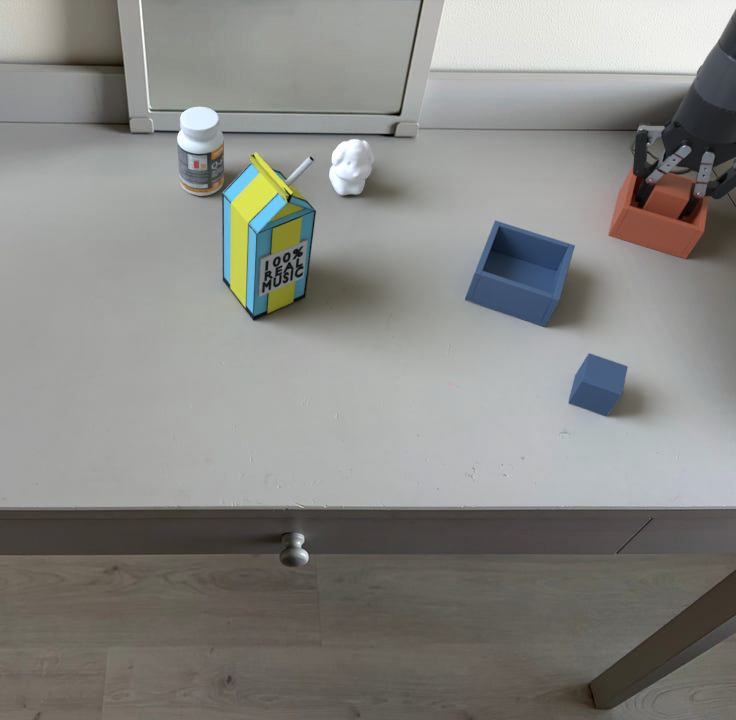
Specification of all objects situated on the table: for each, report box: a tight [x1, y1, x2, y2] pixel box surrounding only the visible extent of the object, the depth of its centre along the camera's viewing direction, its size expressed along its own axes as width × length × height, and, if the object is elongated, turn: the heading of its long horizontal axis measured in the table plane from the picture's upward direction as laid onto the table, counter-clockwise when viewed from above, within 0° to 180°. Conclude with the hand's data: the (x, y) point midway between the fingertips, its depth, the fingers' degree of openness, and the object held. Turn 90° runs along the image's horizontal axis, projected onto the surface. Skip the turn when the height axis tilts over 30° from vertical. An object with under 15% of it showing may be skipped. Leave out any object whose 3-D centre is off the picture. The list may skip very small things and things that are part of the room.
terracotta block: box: [642, 173, 692, 220], centre depth 95 cm, size 4×4×4 cm
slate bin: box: [464, 220, 576, 328], centre depth 90 cm, size 9×9×5 cm
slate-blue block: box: [568, 353, 628, 417], centre depth 81 cm, size 4×4×4 cm
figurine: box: [328, 138, 375, 196], centre depth 98 cm, size 5×8×8 cm
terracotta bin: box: [608, 165, 710, 260], centre depth 97 cm, size 9×9×5 cm
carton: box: [221, 151, 317, 321], centre depth 83 cm, size 7×8×18 cm
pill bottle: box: [176, 106, 225, 197], centre depth 97 cm, size 6×6×10 cm
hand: (659, 208), depth 97 cm, fingers closed on terracotta block, 4 cm apart
